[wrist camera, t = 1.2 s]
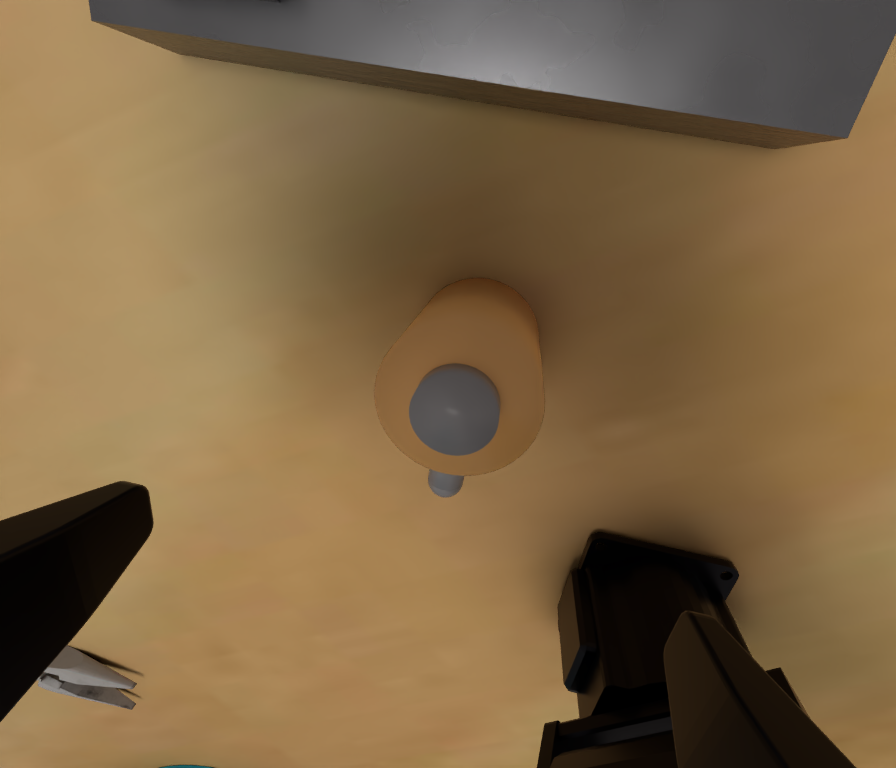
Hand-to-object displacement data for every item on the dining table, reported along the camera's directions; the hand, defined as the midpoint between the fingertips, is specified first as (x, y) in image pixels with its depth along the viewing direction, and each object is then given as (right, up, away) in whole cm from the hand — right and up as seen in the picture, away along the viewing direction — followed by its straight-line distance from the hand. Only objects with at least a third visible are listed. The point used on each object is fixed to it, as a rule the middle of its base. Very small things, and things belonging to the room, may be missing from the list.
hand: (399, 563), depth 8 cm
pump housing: (+2, +5, +11) cm, 12 cm away
